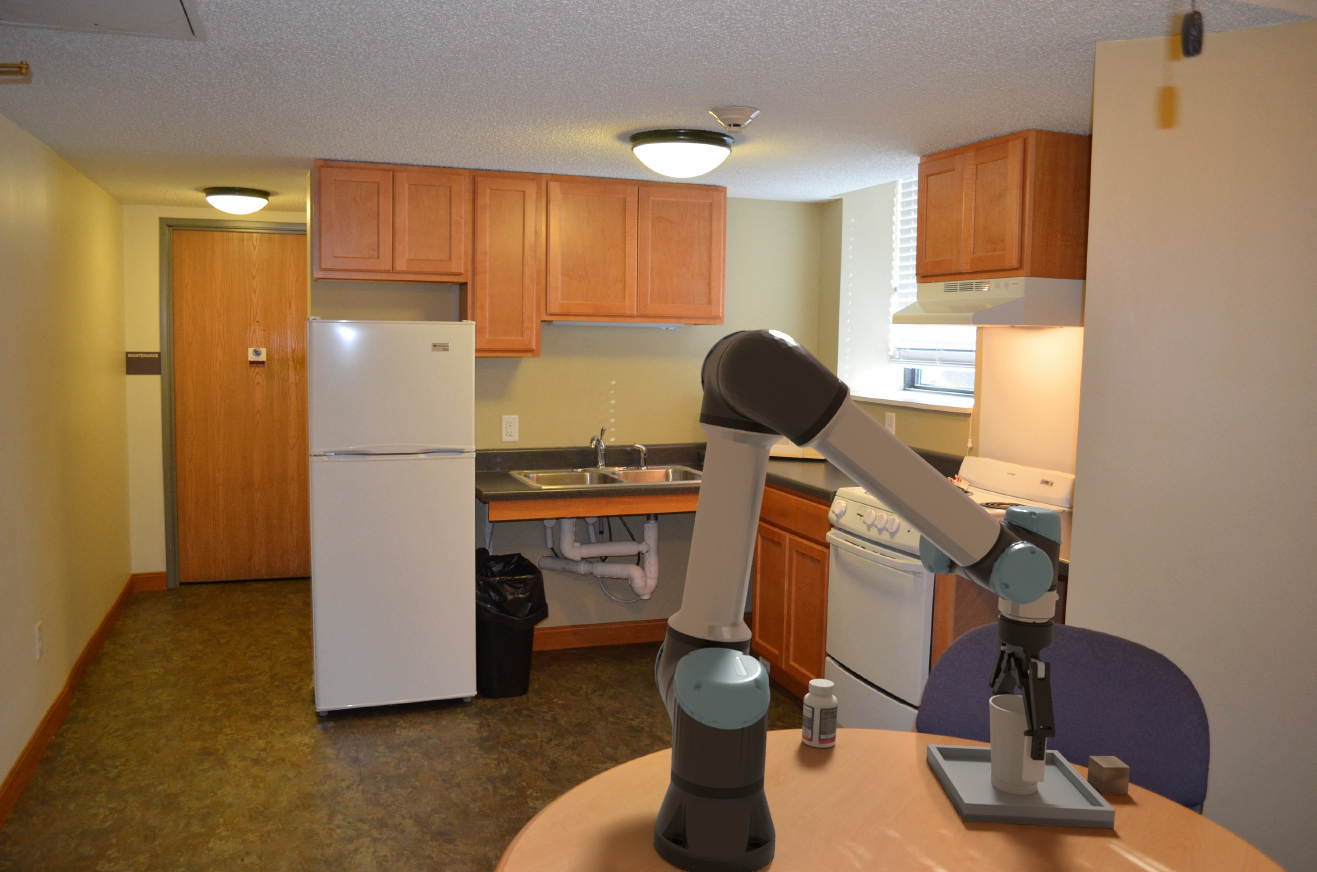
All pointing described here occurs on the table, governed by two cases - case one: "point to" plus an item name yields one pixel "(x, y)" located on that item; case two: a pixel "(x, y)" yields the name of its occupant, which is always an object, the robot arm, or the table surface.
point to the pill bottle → (820, 714)
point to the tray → (1052, 804)
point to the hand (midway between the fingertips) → (1015, 759)
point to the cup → (1008, 744)
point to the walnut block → (1108, 774)
